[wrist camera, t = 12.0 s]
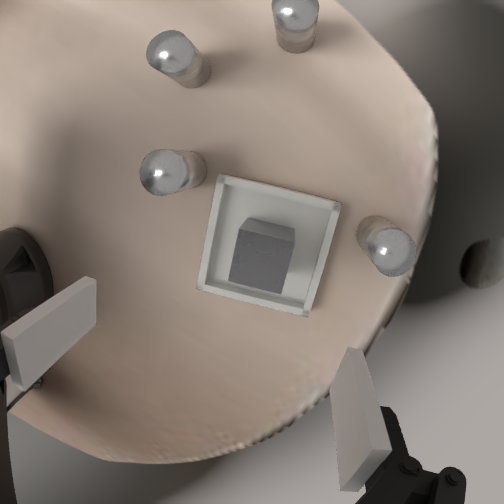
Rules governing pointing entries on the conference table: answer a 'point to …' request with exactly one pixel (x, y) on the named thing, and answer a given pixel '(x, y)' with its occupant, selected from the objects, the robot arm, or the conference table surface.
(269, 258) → the slate cube
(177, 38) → the cylinder
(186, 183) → the spacer
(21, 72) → the conference table surface
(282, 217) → the tray
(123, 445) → the conference table surface
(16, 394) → the coffee press
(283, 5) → the cylinder
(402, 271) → the cylinder
